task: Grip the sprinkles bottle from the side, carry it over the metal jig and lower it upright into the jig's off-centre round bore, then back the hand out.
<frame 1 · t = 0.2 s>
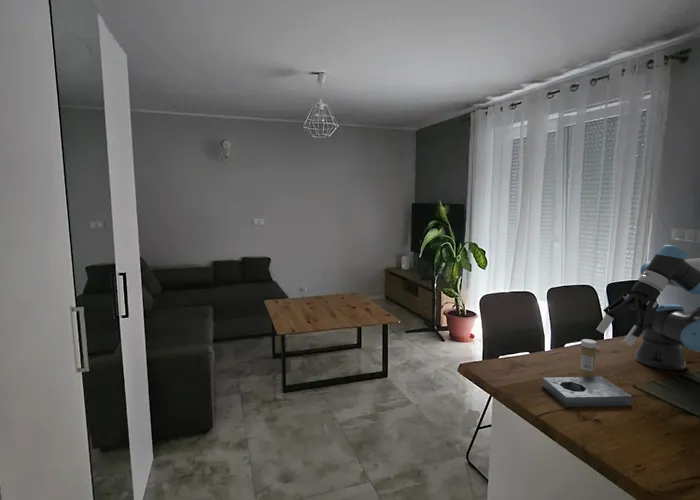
hand: (612, 337, 135), 15 cm above the countertop, tool tilted 35°, fingers open, 13 cm apart
sprinkles bottle: (586, 378, 138), on the countertop
jig: (584, 395, 125), on the countertop
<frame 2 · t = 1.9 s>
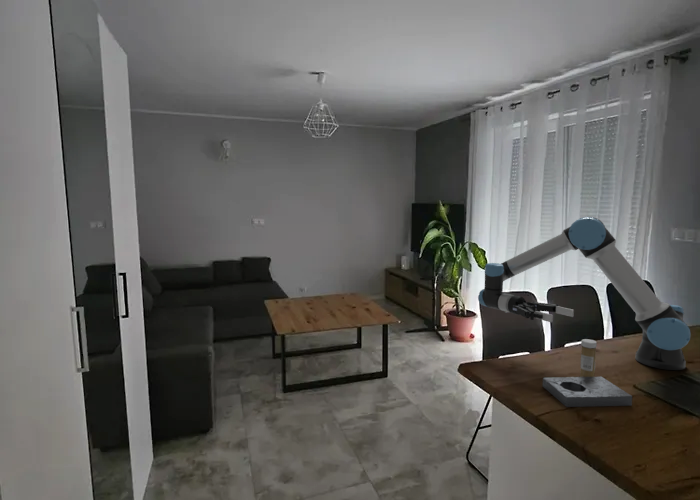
hand: (562, 315, 144), 20 cm above the countertop, tool horizontal, fingers open, 13 cm apart
nothing on the countertop moved.
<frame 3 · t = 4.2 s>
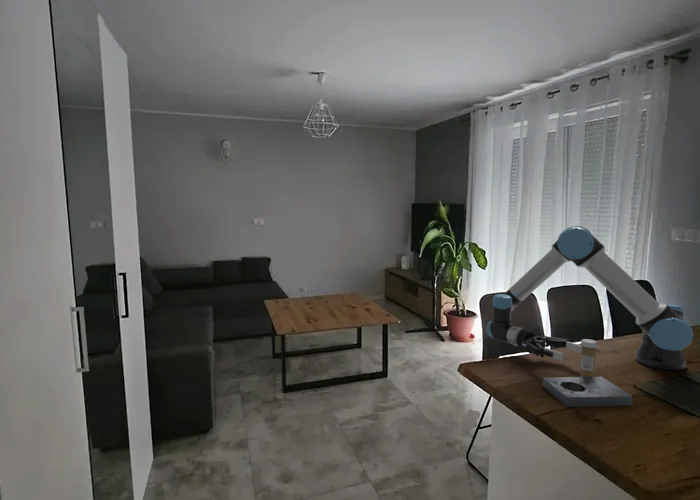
hand: (573, 353, 141), 7 cm above the countertop, tool horizontal, fingers open, 13 cm apart
nothing on the countertop moved.
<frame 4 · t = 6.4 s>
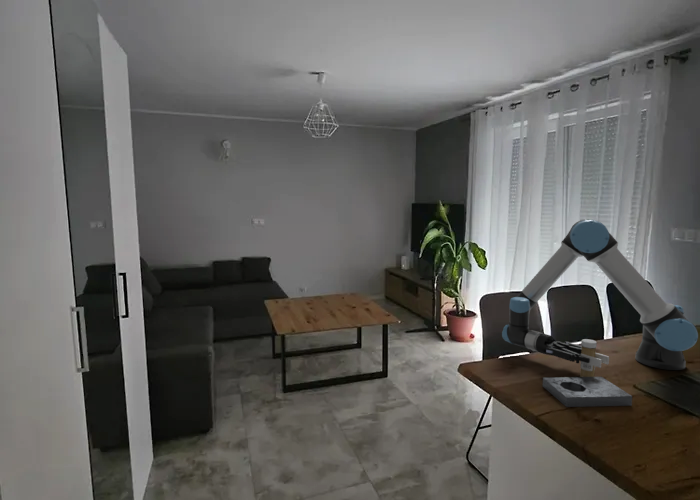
hand: (604, 362, 133), 8 cm above the countertop, tool horizontal, fingers closed on sprinkles bottle, 4 cm apart
sprinkles bottle: (586, 378, 138), on the countertop, touching gripper
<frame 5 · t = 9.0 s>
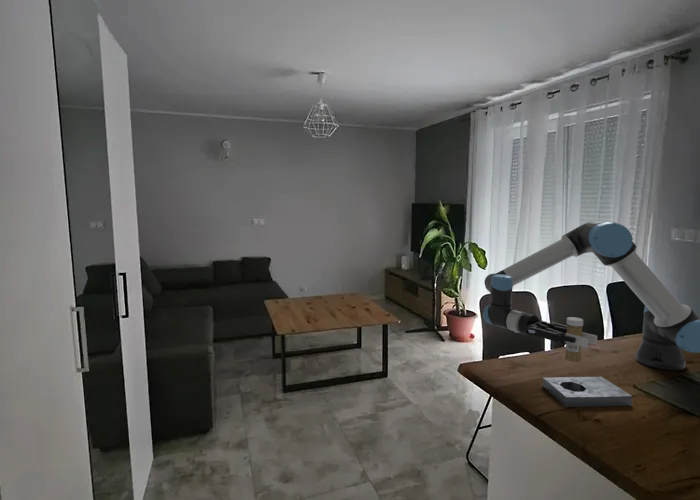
hand: (591, 341, 119), 19 cm above the countertop, tool horizontal, fingers closed on sprinkles bottle, 4 cm apart
sprinkles bottle: (572, 360, 124), point 11 cm above the countertop, touching gripper
when the fingers open (9 cm above the countertop, at t = 11.7 s): sprinkles bottle drops 1 cm, resting in jig.
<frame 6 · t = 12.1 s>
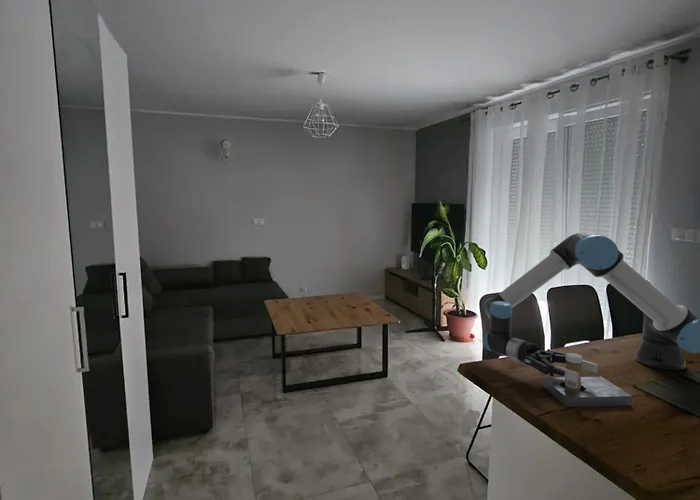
hand: (586, 372, 121), 9 cm above the countertop, tool horizontal, fingers open, 11 cm apart
sprinkles bottle: (572, 396, 125), resting in jig
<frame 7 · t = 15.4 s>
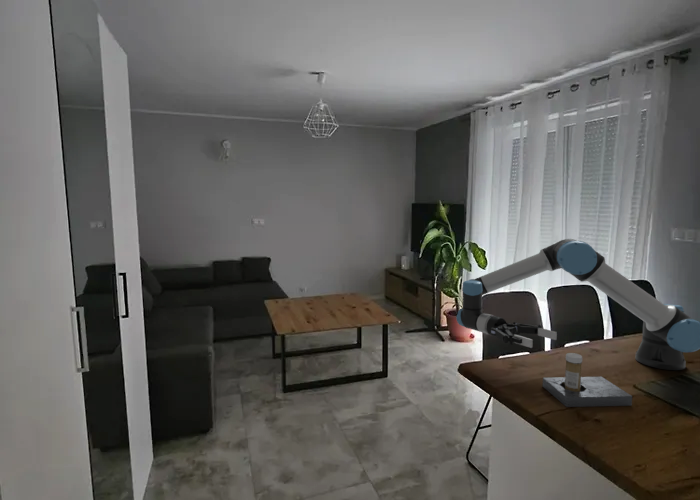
hand: (544, 339, 132), 16 cm above the countertop, tool horizontal, fingers open, 13 cm apart
nothing on the countertop moved.
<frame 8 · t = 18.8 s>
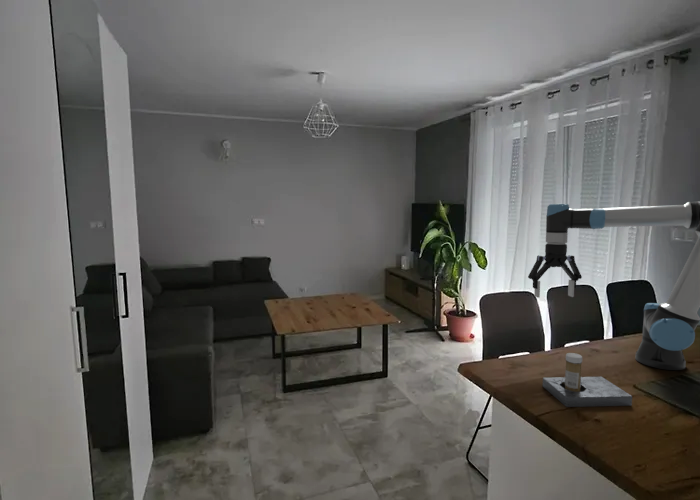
hand: (553, 296, 156), 25 cm above the countertop, tool pointing down, fingers open, 13 cm apart
nothing on the countertop moved.
at the end: sprinkles bottle 0.1 cm from the target spot on the jig, point 0.0 cm above the jig's base; sprinkles bottle tilted 0°; the gripper is holding nothing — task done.
